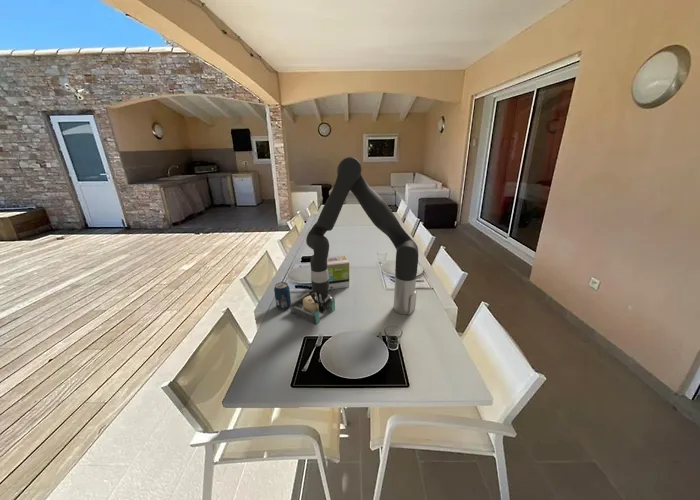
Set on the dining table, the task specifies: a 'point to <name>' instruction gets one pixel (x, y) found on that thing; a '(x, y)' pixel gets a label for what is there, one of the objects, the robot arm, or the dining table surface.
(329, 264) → the tea box
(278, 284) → the soda can
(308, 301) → the beige round fruit
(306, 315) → the holder
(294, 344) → the dining table surface
